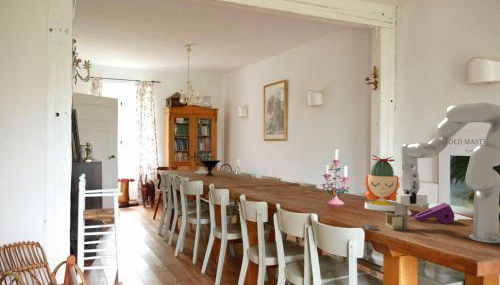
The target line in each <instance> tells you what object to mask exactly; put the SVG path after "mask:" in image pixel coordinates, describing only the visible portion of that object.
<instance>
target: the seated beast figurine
mask: <svg viewBox="0 0 500 285" xmlns="http://www.w3.org/2000/svg"><path fill="white" fill-rule="evenodd" d="M412 213H413V212H412V211H411V210H410V209H408V212H407V216H412V215H413V214H412Z"/></svg>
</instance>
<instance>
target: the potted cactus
mask: <svg viewBox="0 0 500 285" xmlns="http://www.w3.org/2000/svg"><path fill="white" fill-rule="evenodd" d="M372 157H374V158H371V160H373V161H375V163H373V165H372V167H371V170H370V171H369V172H370V173H369V174H367V175H366V178H365V181H364V182H363V185H364V187H366V189H367V191H366V192H365V198H366V199H367V200H368V201H365V202H364V209H367V210H372V211H378V212H379V211H380V212H381V211H382V212H394V211H395V202H396V194H399V193H398V192H397V191H399V190H398V189H399V188H400V187H401V186H400V185H401V184H400V182H399V176H398V175H395V171H394V167H393V165H392V164H391V162H395V161H396V159H395V158H394V159H391V158H393V155H392V156H390V157H386V156H381V157H378V156H377V155H373V154H372ZM372 200H374V201H372ZM391 201H392V202H391Z"/></svg>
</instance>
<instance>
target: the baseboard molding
mask: <svg viewBox="0 0 500 285" xmlns="http://www.w3.org/2000/svg"><path fill="white" fill-rule="evenodd" d="M427 209H428V208H427V207H426V208H425V209H424V211H425V210H427ZM453 213H454V212H453ZM454 216H455V217H454V220H453V221H458V222H459V221H460V222H461V221H462V222H463V221H467V222H468V221H472V222H473V218H471V217H468V216H465V215H461V214H459V213H454Z"/></svg>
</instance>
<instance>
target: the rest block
mask: <svg viewBox="0 0 500 285" xmlns="http://www.w3.org/2000/svg"><path fill="white" fill-rule="evenodd" d="M361 226H362V227H363V228H364V229H366V230H367V231H368V230H369V231H371V230H372V231H373V230H374V231H375V230H376V231H378V230H379V225H378V224H376V223H374V222H369V221H364V222H362V225H361Z"/></svg>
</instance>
